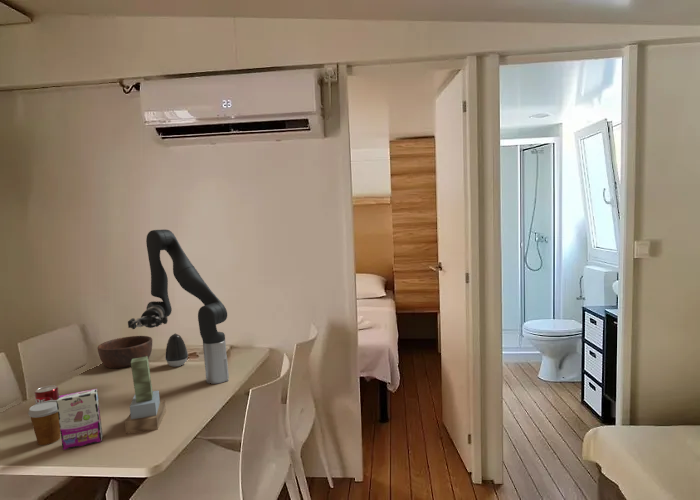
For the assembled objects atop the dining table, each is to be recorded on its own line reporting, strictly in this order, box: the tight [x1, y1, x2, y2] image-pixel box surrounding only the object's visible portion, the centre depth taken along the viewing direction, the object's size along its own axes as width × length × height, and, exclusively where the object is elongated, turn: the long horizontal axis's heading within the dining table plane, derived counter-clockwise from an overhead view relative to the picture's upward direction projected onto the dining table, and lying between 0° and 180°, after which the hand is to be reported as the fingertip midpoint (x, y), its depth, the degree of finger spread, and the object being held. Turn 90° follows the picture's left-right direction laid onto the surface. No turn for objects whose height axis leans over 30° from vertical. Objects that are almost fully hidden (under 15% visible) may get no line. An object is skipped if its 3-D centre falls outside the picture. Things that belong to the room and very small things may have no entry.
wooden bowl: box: [96, 335, 153, 369], centre depth 241 cm, size 25×25×10 cm
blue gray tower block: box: [129, 390, 161, 420], centre depth 168 cm, size 8×12×4 cm, turn 16°
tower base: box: [124, 400, 167, 434], centre depth 168 cm, size 10×15×4 cm, turn 11°
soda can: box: [34, 384, 60, 404], centre depth 174 cm, size 7×7×12 cm
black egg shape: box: [164, 333, 189, 368], centre depth 230 cm, size 10×10×15 cm
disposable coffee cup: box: [27, 400, 61, 446], centre depth 158 cm, size 10×10×12 cm
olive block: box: [130, 356, 154, 403], centre depth 166 cm, size 5×5×14 cm
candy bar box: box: [57, 388, 104, 451], centre depth 154 cm, size 11×5×16 cm, turn 114°
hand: (144, 325), depth 185 cm, fingers open, 8 cm apart
